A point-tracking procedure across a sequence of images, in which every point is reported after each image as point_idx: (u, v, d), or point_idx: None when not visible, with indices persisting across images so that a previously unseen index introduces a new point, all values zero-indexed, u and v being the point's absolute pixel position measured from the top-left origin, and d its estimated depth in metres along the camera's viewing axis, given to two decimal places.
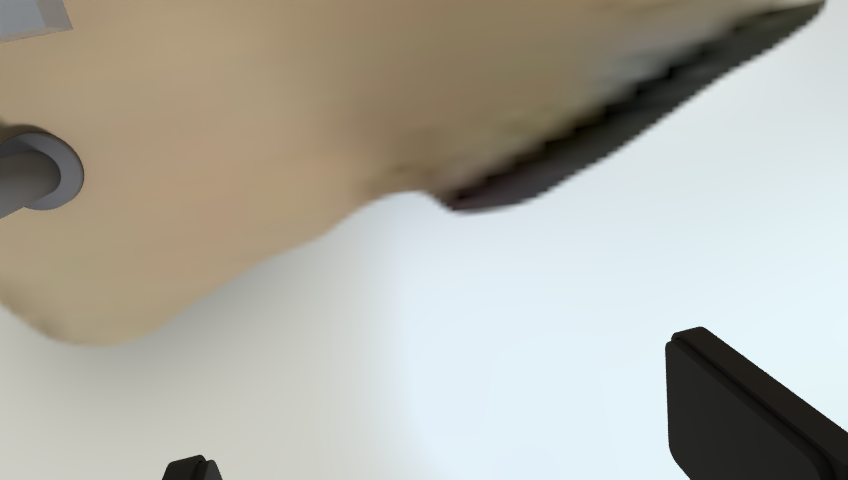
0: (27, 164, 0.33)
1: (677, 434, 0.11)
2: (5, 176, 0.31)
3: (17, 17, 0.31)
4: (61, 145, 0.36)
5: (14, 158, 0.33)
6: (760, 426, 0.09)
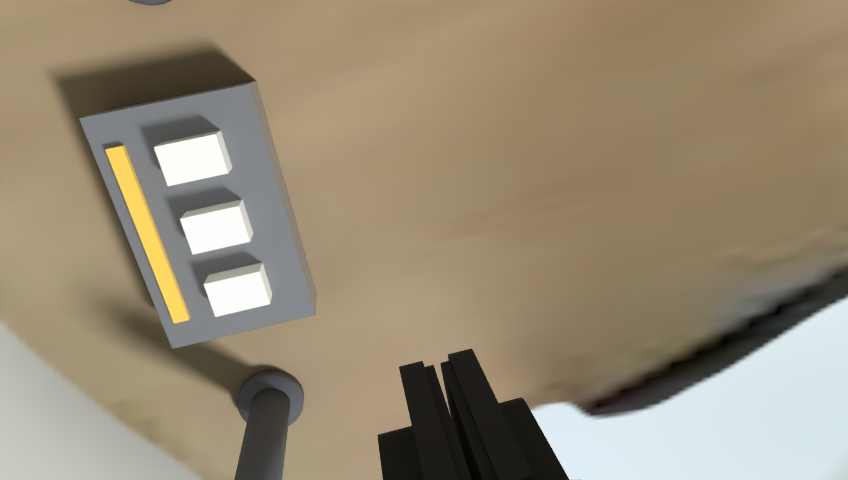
0: (280, 414, 0.41)
1: None
2: (279, 440, 0.39)
3: (294, 309, 0.39)
4: (293, 382, 0.44)
5: (271, 410, 0.41)
6: (469, 446, 0.09)
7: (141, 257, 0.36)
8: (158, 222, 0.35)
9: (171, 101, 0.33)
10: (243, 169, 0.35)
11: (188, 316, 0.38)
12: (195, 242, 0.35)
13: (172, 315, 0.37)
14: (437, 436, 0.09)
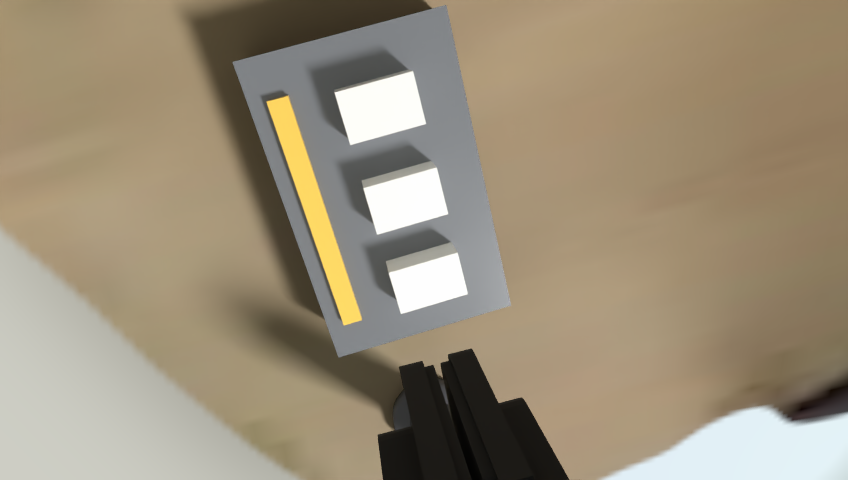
0: None
1: None
2: None
3: (486, 300, 0.31)
4: None
5: None
6: (469, 446, 0.09)
7: (304, 243, 0.28)
8: (327, 195, 0.28)
9: (348, 33, 0.25)
10: (433, 120, 0.27)
11: (360, 315, 0.30)
12: (381, 218, 0.27)
13: (342, 315, 0.29)
14: (437, 436, 0.09)
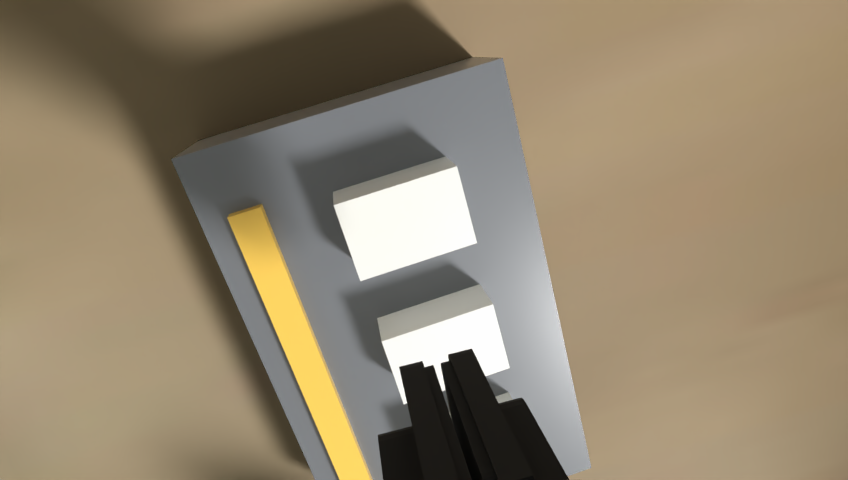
0: None
1: None
2: None
3: None
4: None
5: None
6: (469, 446, 0.09)
7: (295, 409, 0.19)
8: (326, 342, 0.18)
9: (353, 107, 0.16)
10: (483, 227, 0.18)
11: None
12: None
13: None
14: (437, 436, 0.09)
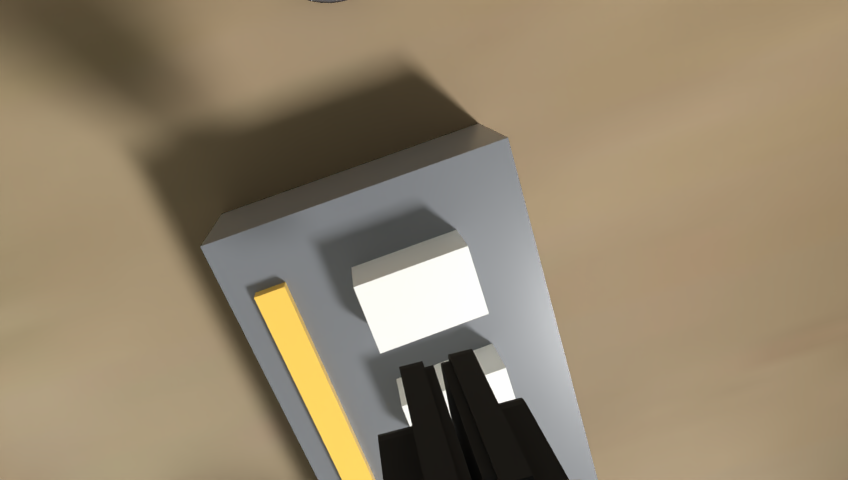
0: None
1: None
2: None
3: None
4: None
5: None
6: (469, 446, 0.09)
7: (321, 465, 0.20)
8: (349, 403, 0.19)
9: (368, 190, 0.17)
10: (494, 291, 0.19)
11: None
12: None
13: None
14: (437, 436, 0.09)
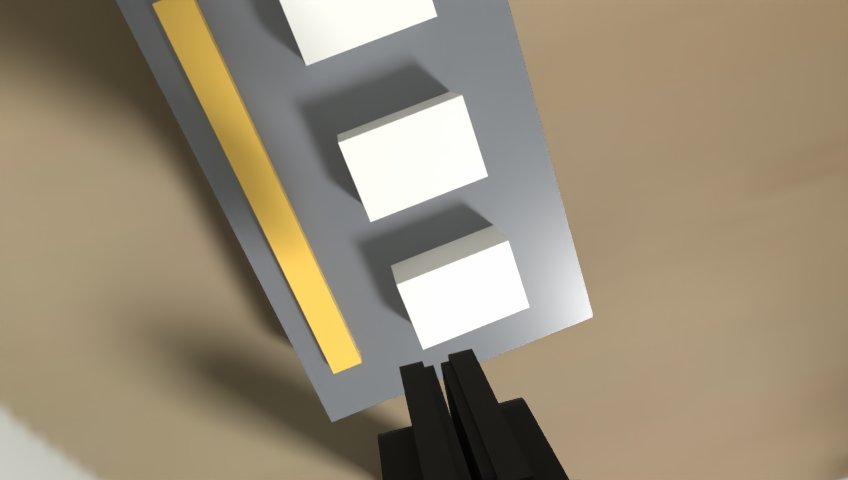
0: None
1: None
2: None
3: (555, 312, 0.20)
4: None
5: None
6: (469, 446, 0.09)
7: (255, 248, 0.17)
8: (282, 165, 0.16)
9: None
10: (449, 20, 0.16)
11: (359, 356, 0.19)
12: (374, 193, 0.16)
13: (329, 358, 0.18)
14: (437, 436, 0.09)
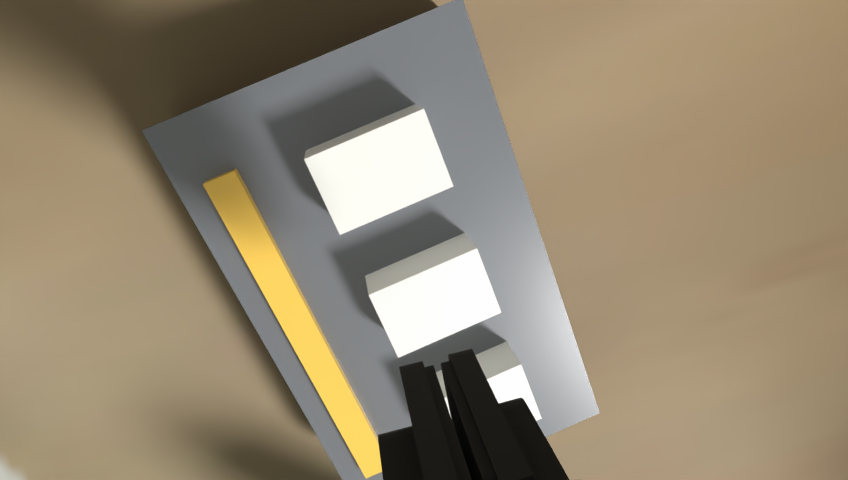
0: None
1: None
2: None
3: (564, 411, 0.21)
4: None
5: None
6: (469, 446, 0.09)
7: (293, 375, 0.19)
8: (317, 304, 0.18)
9: (316, 61, 0.16)
10: (462, 173, 0.18)
11: None
12: (401, 334, 0.17)
13: (361, 465, 0.20)
14: (437, 436, 0.09)
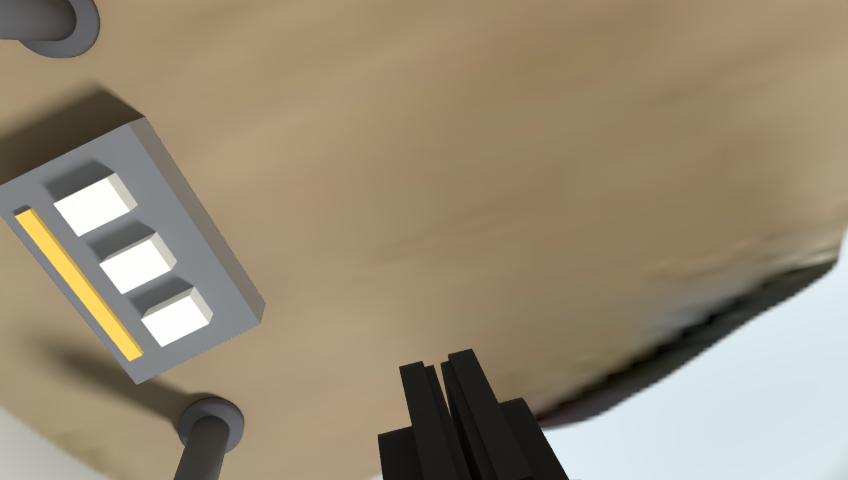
0: (216, 443, 0.43)
1: None
2: (211, 469, 0.40)
3: (239, 323, 0.40)
4: (233, 410, 0.45)
5: (207, 438, 0.42)
6: (469, 446, 0.09)
7: (81, 307, 0.38)
8: (86, 271, 0.37)
9: (61, 157, 0.35)
10: (148, 203, 0.36)
11: (141, 352, 0.39)
12: (120, 282, 0.36)
13: (125, 354, 0.39)
14: (437, 436, 0.09)
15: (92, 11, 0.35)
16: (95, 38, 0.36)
